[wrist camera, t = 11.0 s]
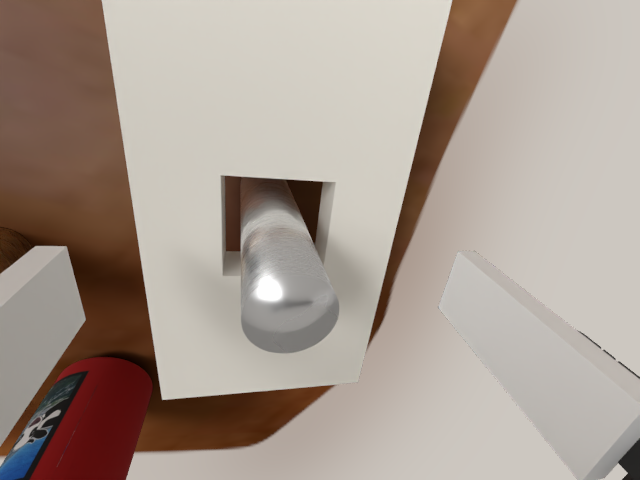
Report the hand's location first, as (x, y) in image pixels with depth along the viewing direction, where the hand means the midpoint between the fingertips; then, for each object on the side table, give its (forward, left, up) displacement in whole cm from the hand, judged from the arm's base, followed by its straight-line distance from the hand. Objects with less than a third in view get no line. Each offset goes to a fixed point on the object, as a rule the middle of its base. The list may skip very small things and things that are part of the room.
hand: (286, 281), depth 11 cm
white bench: (0, 0, -11) cm, 11 cm away
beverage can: (-12, -17, -11) cm, 24 cm away
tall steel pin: (0, 0, -11) cm, 11 cm away
